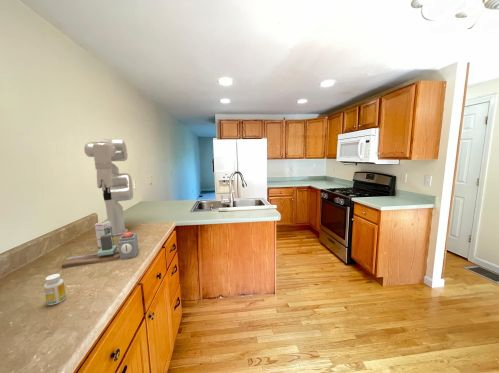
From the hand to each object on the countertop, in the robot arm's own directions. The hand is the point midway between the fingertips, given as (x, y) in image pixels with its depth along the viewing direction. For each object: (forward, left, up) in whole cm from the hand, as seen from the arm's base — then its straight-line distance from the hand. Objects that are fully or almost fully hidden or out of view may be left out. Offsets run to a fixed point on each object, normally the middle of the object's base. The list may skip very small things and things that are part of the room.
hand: (107, 199), depth 118 cm
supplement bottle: (+43, -8, -29) cm, 53 cm away
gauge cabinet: (+10, +10, -29) cm, 32 cm away
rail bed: (+10, -6, -29) cm, 31 cm away
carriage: (+10, 0, -26) cm, 28 cm away
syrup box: (-8, -6, -29) cm, 31 cm away
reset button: (+10, +10, -20) cm, 24 cm away
